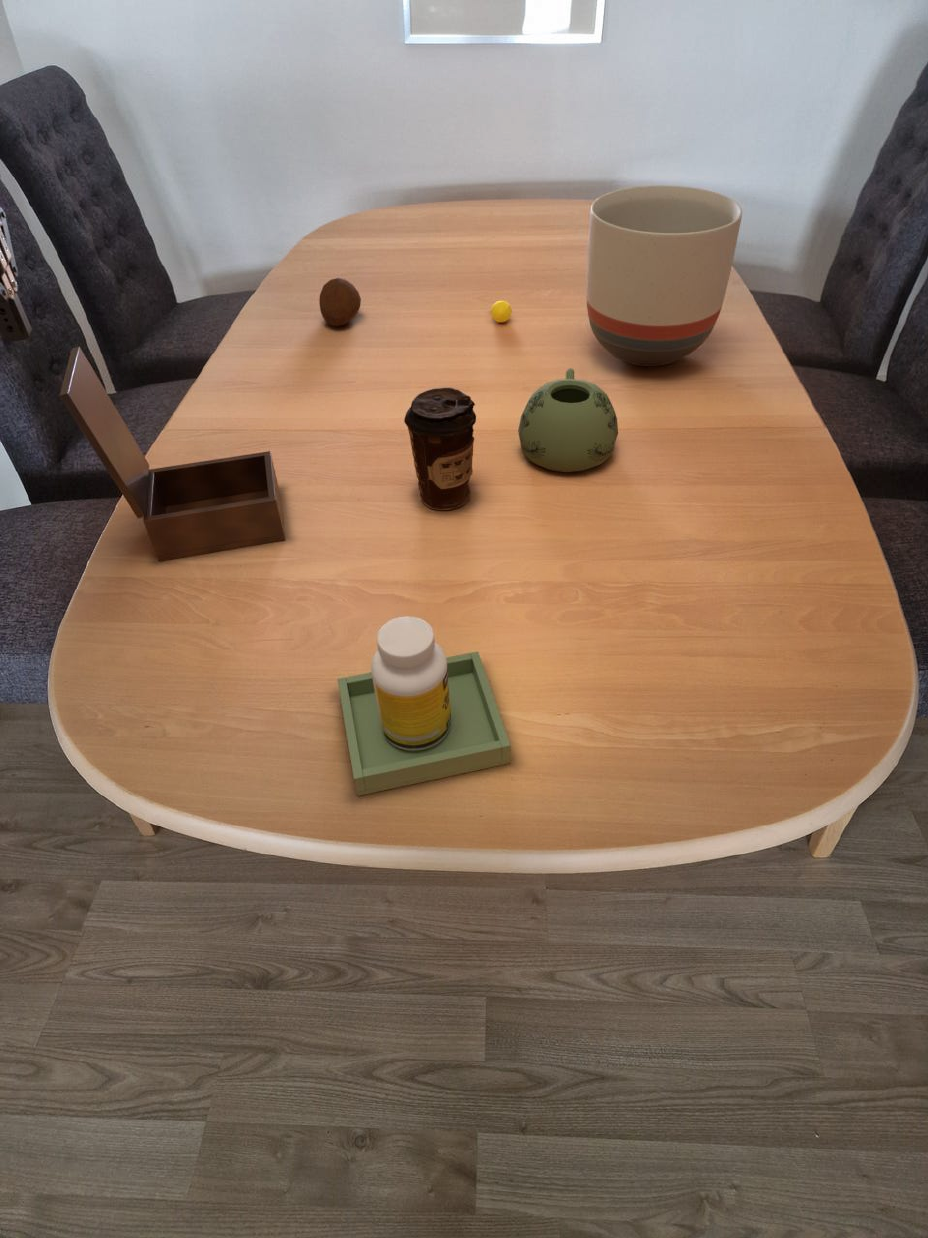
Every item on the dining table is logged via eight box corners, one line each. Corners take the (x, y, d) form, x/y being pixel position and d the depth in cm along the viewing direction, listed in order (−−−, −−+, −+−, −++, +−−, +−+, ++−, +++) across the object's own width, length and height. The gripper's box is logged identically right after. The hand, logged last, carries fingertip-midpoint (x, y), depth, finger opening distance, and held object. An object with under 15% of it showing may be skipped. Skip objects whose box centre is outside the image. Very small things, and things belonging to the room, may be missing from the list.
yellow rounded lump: (495, 327, 134) (488, 305, 133) (493, 322, 140) (487, 301, 138) (515, 319, 134) (508, 298, 132) (512, 315, 139) (505, 294, 138)
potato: (362, 305, 143) (357, 264, 138) (364, 330, 135) (358, 288, 131) (322, 308, 142) (316, 267, 138) (322, 333, 135) (315, 292, 130)
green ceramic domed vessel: (617, 480, 101) (625, 419, 95) (515, 477, 103) (515, 416, 97) (613, 415, 113) (619, 356, 107) (521, 413, 114) (522, 355, 108)
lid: (79, 345, 85) (71, 348, 85) (67, 393, 78) (59, 395, 78) (149, 464, 96) (142, 467, 96) (145, 516, 89) (137, 518, 89)
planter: (696, 324, 133) (720, 181, 118) (729, 384, 118) (761, 230, 103) (572, 330, 133) (581, 188, 118) (590, 390, 118) (602, 237, 103)
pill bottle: (450, 754, 71) (443, 664, 63) (377, 754, 71) (361, 665, 63) (452, 697, 76) (446, 607, 68) (384, 698, 76) (369, 609, 68)
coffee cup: (495, 494, 100) (494, 399, 91) (448, 526, 96) (443, 429, 87) (444, 469, 105) (438, 376, 96) (398, 498, 100) (387, 403, 91)
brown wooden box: (279, 490, 103) (270, 450, 98) (285, 540, 95) (275, 499, 91) (161, 508, 100) (147, 469, 96) (158, 561, 93) (142, 521, 89)
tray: (357, 796, 69) (353, 778, 67) (341, 696, 77) (337, 678, 75) (510, 763, 71) (510, 745, 69) (478, 669, 79) (478, 651, 77)
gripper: (-104, 106, 66) (-10, 313, 78) (-156, 148, 57) (-40, 376, 69) (-8, 97, 67) (71, 303, 79) (-44, 138, 58) (51, 364, 70)
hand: (19, 337), depth 74 cm, fingers closed
